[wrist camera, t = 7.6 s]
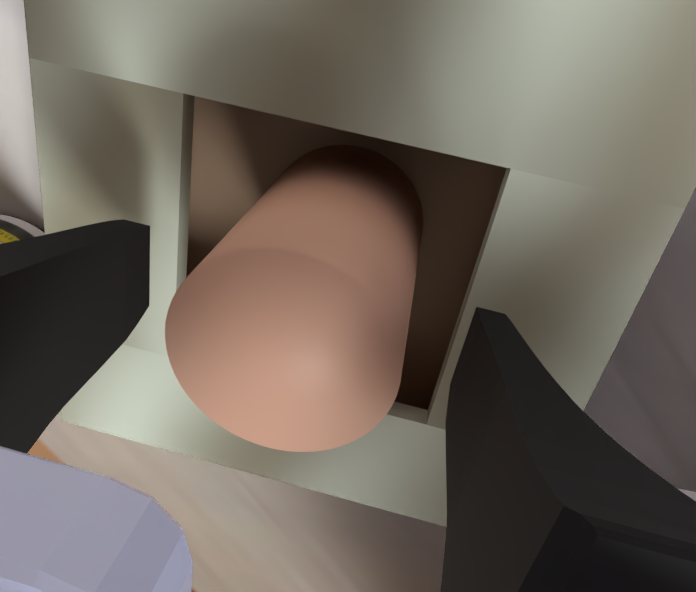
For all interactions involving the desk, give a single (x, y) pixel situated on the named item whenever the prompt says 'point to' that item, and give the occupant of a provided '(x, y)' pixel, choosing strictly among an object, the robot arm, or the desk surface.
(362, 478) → the socket block
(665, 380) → the desk surface
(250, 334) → the peg
